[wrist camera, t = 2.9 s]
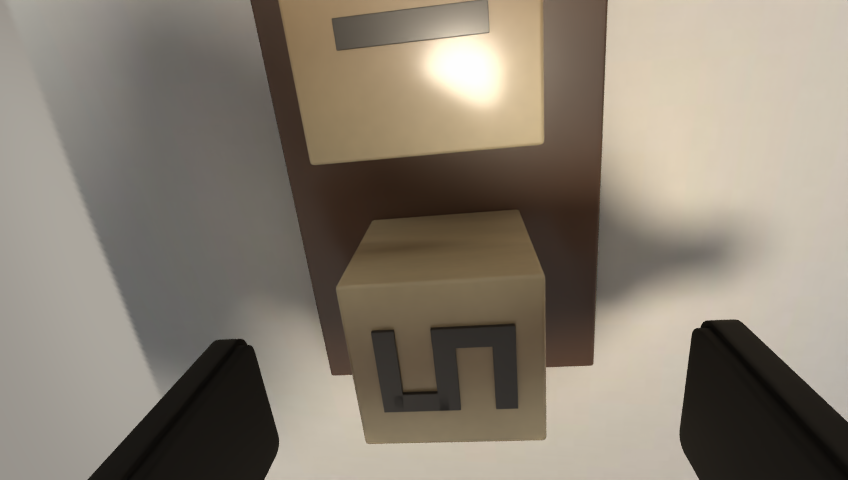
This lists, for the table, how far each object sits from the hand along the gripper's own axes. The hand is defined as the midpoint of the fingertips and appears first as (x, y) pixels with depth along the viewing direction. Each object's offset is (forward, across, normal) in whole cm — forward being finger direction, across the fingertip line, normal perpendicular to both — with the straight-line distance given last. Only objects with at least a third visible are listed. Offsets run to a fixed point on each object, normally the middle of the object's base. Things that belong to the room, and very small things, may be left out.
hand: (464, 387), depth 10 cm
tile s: (+5, 0, 0) cm, 5 cm away
